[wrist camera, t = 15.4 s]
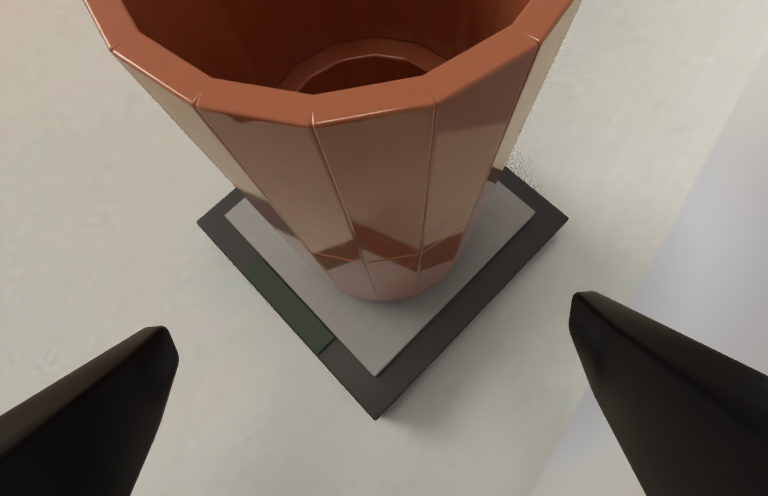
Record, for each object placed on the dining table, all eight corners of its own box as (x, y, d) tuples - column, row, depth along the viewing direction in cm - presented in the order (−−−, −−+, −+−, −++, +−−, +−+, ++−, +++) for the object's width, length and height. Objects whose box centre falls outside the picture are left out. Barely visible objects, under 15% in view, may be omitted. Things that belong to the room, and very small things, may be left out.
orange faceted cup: (451, 320, 17) (576, 174, 4) (279, 282, 18) (-25, 69, 5) (481, 159, 19) (626, -259, 6) (324, 131, 20) (181, -286, 7)
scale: (554, 232, 21) (576, 211, 18) (378, 416, 19) (373, 424, 16) (382, 88, 23) (379, 51, 21) (214, 235, 22) (186, 215, 19)
